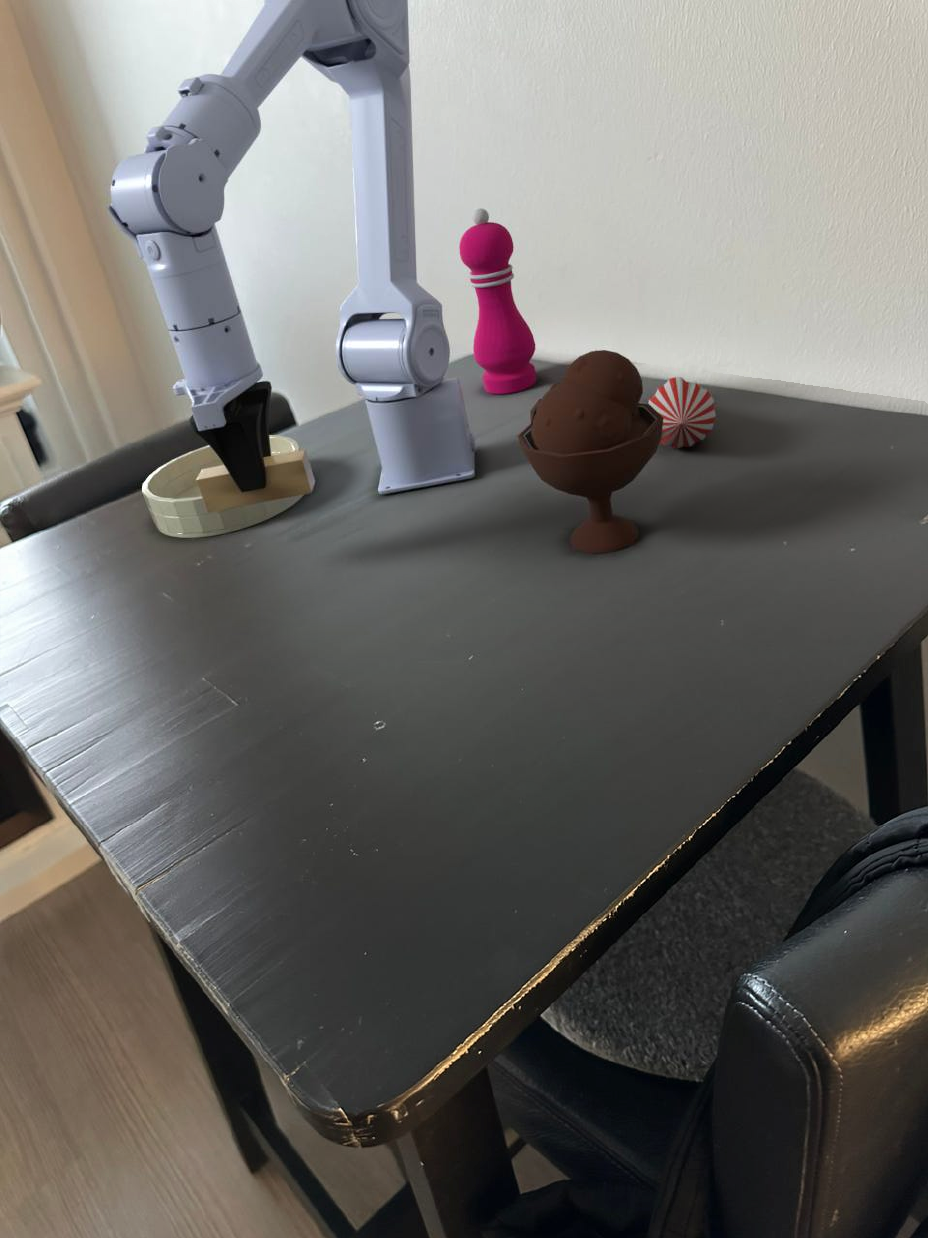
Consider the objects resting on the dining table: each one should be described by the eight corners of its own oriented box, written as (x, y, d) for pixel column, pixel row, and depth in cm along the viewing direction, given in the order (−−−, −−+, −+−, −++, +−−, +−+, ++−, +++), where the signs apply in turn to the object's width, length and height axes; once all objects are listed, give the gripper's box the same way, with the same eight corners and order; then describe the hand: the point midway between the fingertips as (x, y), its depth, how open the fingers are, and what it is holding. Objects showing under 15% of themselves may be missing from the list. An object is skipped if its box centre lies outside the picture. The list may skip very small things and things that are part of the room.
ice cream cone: (690, 440, 108) (698, 472, 89) (635, 414, 108) (632, 440, 89) (719, 385, 105) (734, 406, 87) (663, 358, 106) (666, 374, 87)
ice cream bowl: (592, 499, 89) (568, 328, 82) (701, 521, 82) (684, 336, 74) (510, 552, 84) (476, 374, 76) (618, 581, 76) (592, 387, 69)
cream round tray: (318, 458, 112) (308, 424, 110) (297, 520, 98) (285, 482, 96) (177, 485, 114) (165, 451, 112) (136, 549, 100) (122, 512, 98)
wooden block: (315, 481, 87) (305, 448, 85) (311, 493, 85) (302, 459, 83) (213, 501, 87) (201, 468, 86) (207, 512, 85) (195, 479, 84)
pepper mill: (476, 399, 119) (441, 220, 109) (485, 379, 125) (452, 208, 115) (537, 391, 118) (507, 208, 108) (544, 371, 124) (515, 196, 114)
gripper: (177, 307, 85) (227, 458, 92) (129, 356, 73) (191, 527, 79) (258, 290, 85) (303, 443, 91) (224, 336, 72) (279, 510, 79)
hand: (257, 481), depth 85 cm, fingers closed on wooden block, 2 cm apart
